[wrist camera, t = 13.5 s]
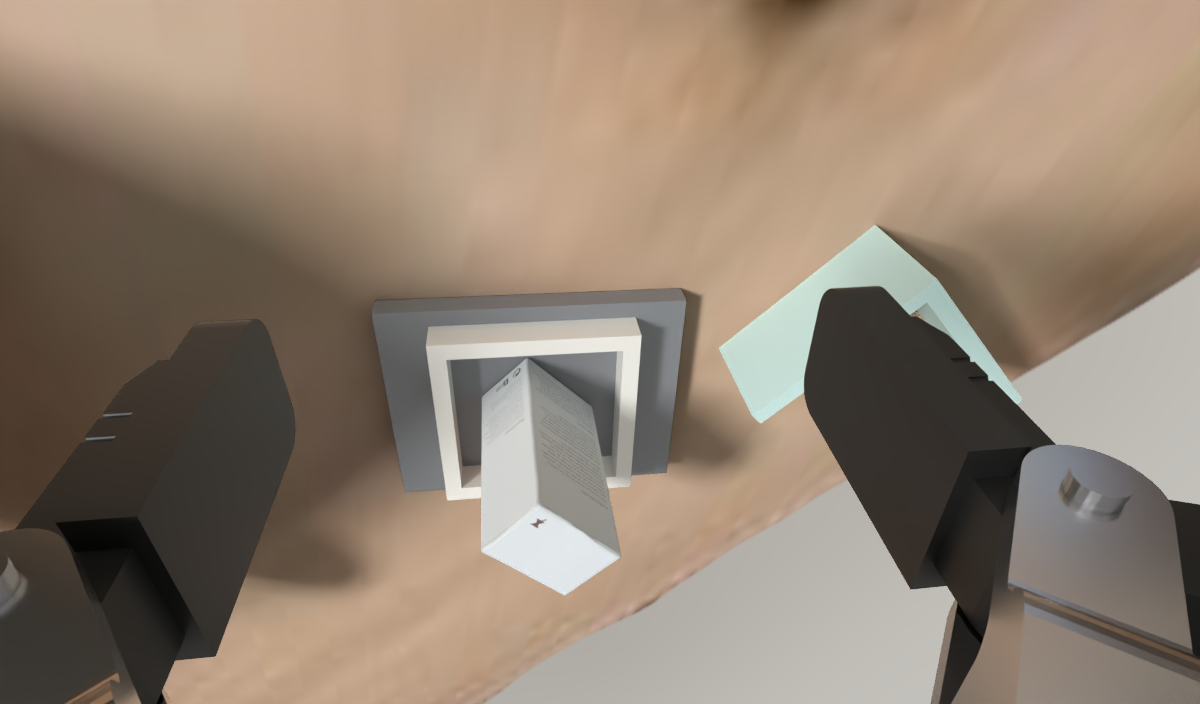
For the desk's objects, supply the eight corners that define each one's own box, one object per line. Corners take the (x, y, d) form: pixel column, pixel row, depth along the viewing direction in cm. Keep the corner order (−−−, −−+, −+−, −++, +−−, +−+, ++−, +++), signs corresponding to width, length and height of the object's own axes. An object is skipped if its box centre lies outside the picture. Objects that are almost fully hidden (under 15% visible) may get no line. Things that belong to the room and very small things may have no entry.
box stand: (680, 288, 41) (694, 318, 38) (662, 458, 49) (672, 493, 46) (375, 300, 39) (365, 333, 36) (407, 476, 47) (401, 514, 44)
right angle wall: (716, 343, 45) (752, 415, 39) (870, 220, 41) (937, 279, 35) (811, 433, 51) (855, 509, 45) (953, 333, 47) (1023, 400, 41)
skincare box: (479, 396, 42) (475, 551, 32) (527, 354, 41) (539, 502, 31) (548, 444, 45) (564, 600, 35) (595, 406, 44) (626, 557, 34)
